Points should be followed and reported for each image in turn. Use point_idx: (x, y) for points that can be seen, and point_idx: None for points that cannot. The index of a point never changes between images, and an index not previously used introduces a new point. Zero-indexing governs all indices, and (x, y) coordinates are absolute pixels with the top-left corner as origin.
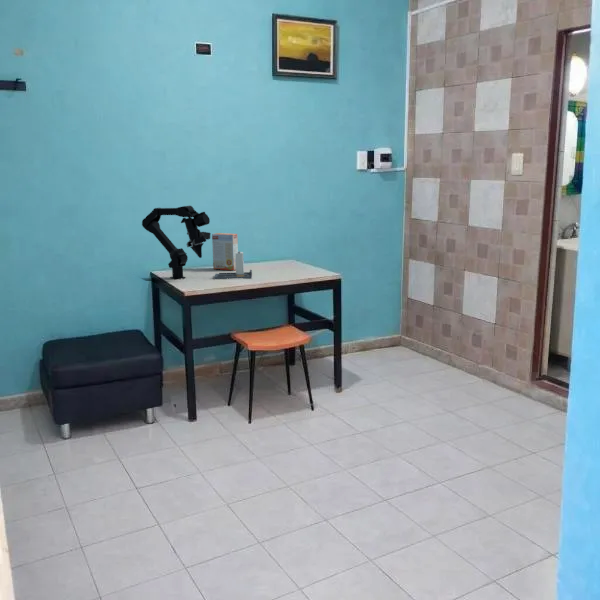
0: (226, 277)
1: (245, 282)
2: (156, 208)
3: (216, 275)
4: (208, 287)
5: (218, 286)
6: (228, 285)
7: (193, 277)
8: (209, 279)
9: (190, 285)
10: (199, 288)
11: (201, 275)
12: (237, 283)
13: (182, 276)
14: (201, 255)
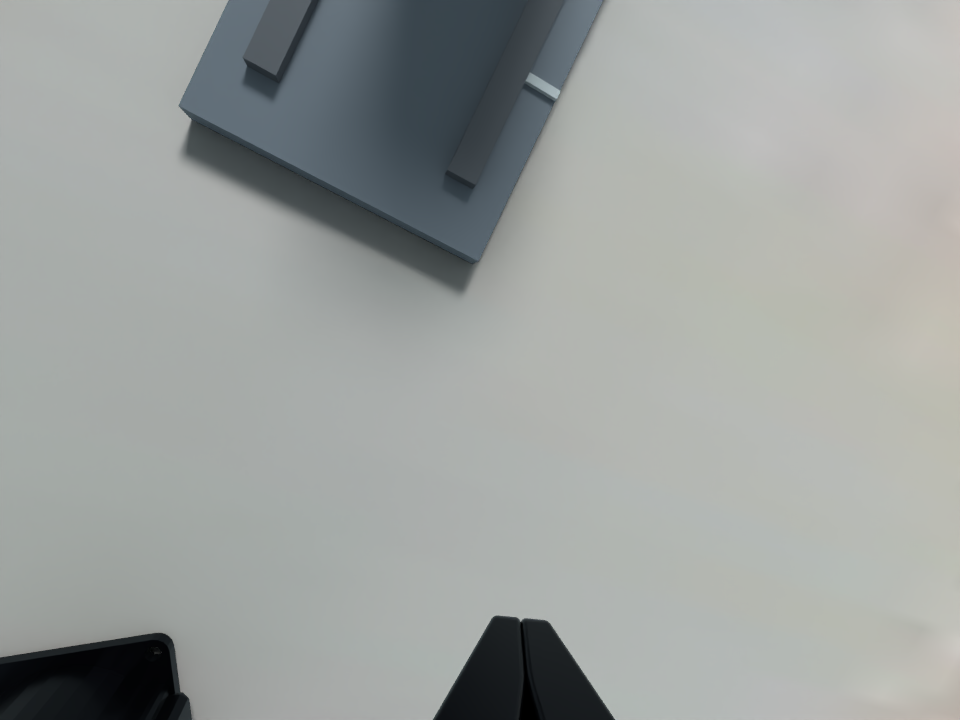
0: (560, 86)
1: (917, 4)
2: None
3: (375, 174)
4: (928, 525)
5: (942, 406)
6: (956, 280)
7: (147, 497)
8: (459, 335)
9: (716, 682)
10: (920, 630)
11: (12, 318)
12: (916, 127)
13: (183, 709)
14: (575, 668)
